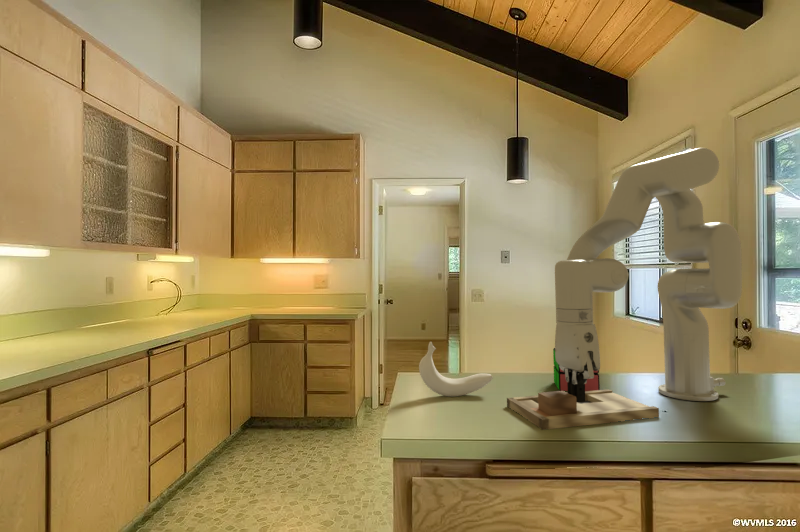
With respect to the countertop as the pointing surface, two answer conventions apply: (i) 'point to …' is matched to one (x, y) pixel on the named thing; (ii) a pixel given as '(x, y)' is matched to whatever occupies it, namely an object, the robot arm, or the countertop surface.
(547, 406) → the walnut block
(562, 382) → the puzzle cube
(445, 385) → the banana
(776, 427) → the countertop surface
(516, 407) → the box
